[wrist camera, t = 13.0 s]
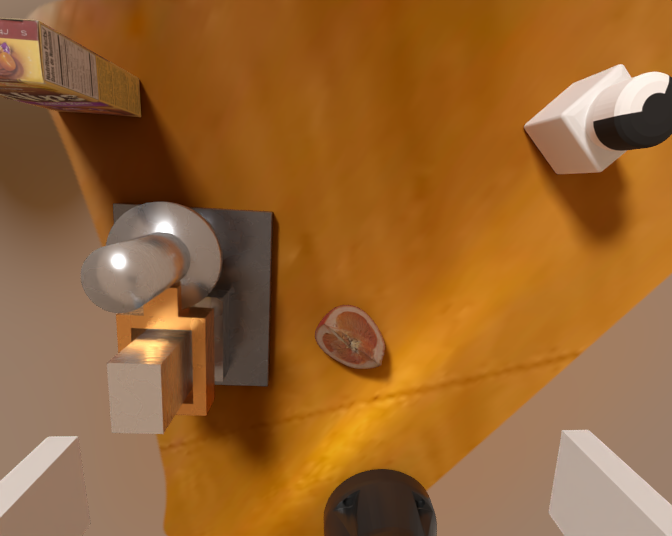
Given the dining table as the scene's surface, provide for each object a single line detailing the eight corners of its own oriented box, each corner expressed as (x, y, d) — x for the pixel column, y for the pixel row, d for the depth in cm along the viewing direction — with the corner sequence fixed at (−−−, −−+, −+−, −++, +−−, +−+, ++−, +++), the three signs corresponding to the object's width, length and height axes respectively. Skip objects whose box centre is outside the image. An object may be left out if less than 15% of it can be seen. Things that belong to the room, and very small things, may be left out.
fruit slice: (390, 330, 47) (399, 347, 42) (355, 369, 48) (359, 389, 43) (339, 289, 46) (341, 301, 41) (304, 330, 47) (302, 346, 42)
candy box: (57, 115, 40) (-97, 73, 25) (53, 71, 39) (-108, 1, 24) (143, 121, 41) (42, 83, 26) (141, 78, 40) (35, 13, 25)
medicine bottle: (606, 133, 43) (714, 113, 32) (556, 175, 44) (642, 171, 32) (573, 82, 42) (671, 41, 30) (521, 126, 43) (598, 104, 31)
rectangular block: (213, 353, 45) (163, 433, 30) (179, 352, 45) (111, 432, 30) (213, 305, 44) (160, 364, 29) (178, 303, 44) (106, 362, 29)
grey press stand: (268, 379, 48) (240, 492, 30) (130, 375, 47) (16, 489, 29) (273, 202, 43) (242, 213, 26) (119, 194, 42) (-23, 199, 25)
